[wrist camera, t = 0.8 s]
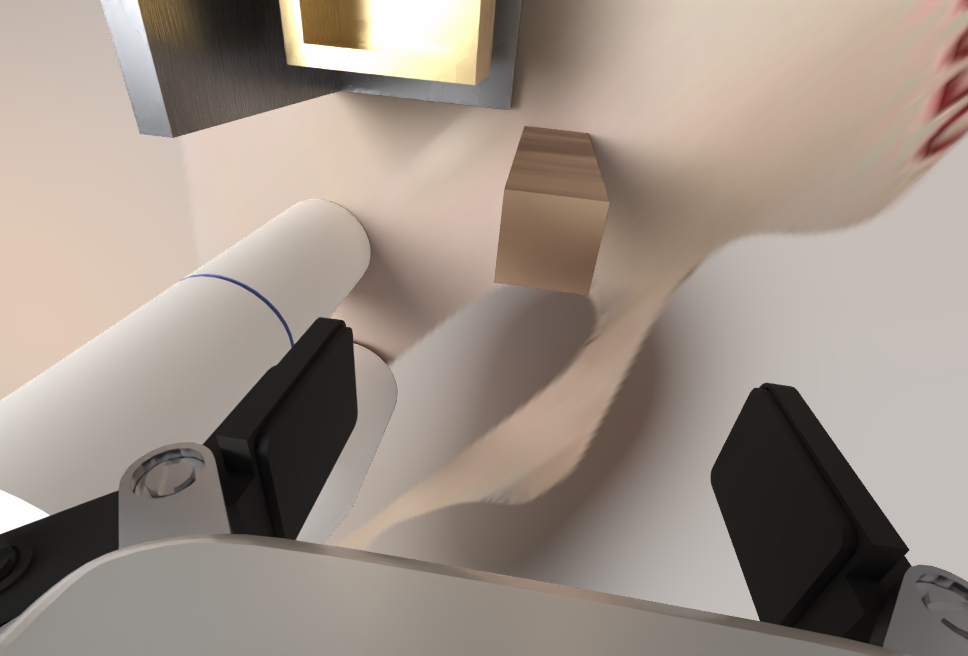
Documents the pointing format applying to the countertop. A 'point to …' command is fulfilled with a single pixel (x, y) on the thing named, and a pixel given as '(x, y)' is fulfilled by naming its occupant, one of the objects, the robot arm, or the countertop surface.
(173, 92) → the cup bracket
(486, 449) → the countertop surface
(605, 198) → the rail post
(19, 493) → the cylindrical container
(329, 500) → the wine bottle
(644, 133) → the countertop surface
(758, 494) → the robot arm
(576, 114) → the countertop surface
